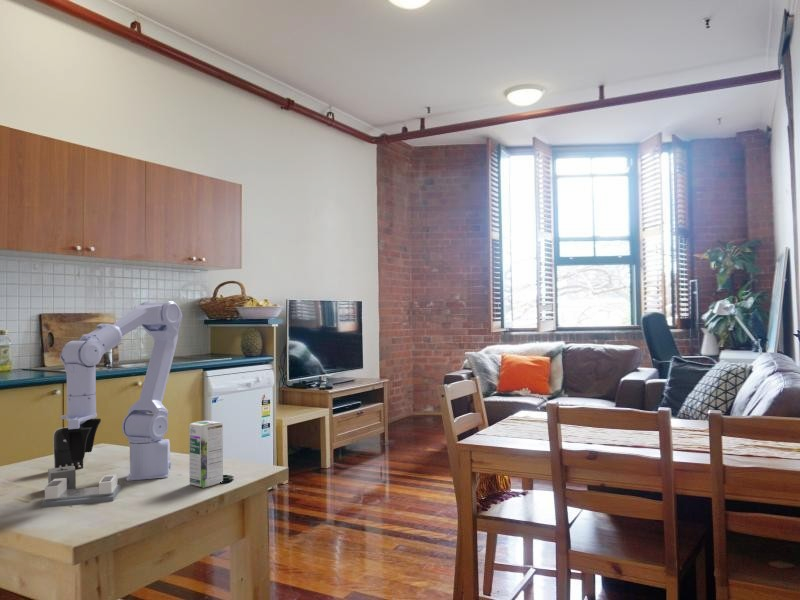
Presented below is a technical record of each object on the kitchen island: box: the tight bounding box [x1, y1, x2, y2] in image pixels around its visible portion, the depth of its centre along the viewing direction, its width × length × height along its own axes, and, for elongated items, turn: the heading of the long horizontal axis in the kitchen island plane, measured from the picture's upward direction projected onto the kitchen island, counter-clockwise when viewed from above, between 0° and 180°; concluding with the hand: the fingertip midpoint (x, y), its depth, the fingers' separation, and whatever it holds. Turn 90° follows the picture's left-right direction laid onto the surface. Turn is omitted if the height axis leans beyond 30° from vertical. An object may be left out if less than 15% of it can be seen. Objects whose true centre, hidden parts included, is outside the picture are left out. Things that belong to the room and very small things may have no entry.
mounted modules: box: [44, 473, 119, 499], centre depth 133 cm, size 13×7×3 cm, turn 105°
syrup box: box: [188, 420, 224, 489], centre depth 143 cm, size 6×6×14 cm
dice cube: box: [47, 466, 77, 490], centre depth 139 cm, size 5×5×5 cm
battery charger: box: [52, 426, 84, 471], centre depth 157 cm, size 7×4×11 cm, turn 131°
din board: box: [40, 484, 122, 508], centre depth 133 cm, size 14×9×2 cm, turn 105°
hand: (82, 456), depth 133 cm, fingers open, 7 cm apart
